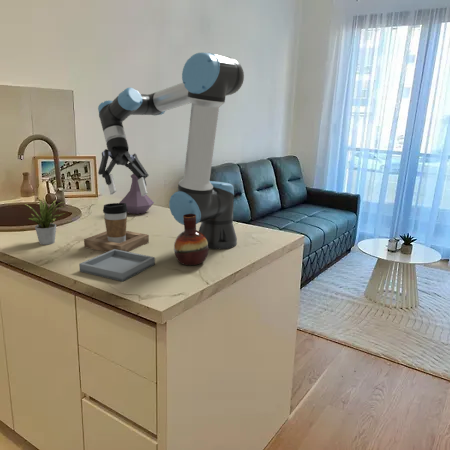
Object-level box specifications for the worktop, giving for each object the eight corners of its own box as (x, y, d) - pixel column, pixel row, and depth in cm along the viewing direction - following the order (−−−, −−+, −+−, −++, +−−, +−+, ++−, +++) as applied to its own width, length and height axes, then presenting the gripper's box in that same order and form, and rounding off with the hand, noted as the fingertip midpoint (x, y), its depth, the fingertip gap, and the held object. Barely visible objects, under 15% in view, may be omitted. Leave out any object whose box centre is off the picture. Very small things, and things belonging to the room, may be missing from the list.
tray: (154, 264, 136) (154, 257, 135) (122, 281, 122) (122, 273, 121) (114, 256, 142) (114, 249, 141) (79, 271, 128) (79, 263, 127)
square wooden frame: (148, 242, 157) (148, 234, 157) (120, 254, 143) (120, 246, 143) (114, 236, 164) (114, 228, 163) (84, 247, 150) (83, 239, 149)
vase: (178, 269, 132) (175, 222, 128) (172, 257, 143) (169, 212, 138) (212, 264, 135) (210, 218, 131) (204, 253, 145) (202, 209, 141)
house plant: (79, 241, 156) (76, 197, 152) (47, 251, 145) (43, 204, 140) (53, 234, 163) (50, 192, 159) (20, 243, 152) (16, 198, 147)
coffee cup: (122, 249, 149) (120, 207, 145) (100, 247, 151) (98, 205, 147) (132, 242, 157) (131, 202, 153) (111, 240, 159) (109, 201, 155)
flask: (137, 217, 192) (136, 173, 187) (111, 212, 201) (109, 169, 195) (161, 211, 206) (160, 169, 201) (136, 206, 214) (134, 166, 209)
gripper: (137, 150, 169) (150, 199, 164) (80, 141, 150) (93, 196, 145) (148, 141, 164) (162, 191, 159) (91, 130, 145) (104, 187, 140)
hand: (129, 193), depth 152 cm, fingers open, 13 cm apart
